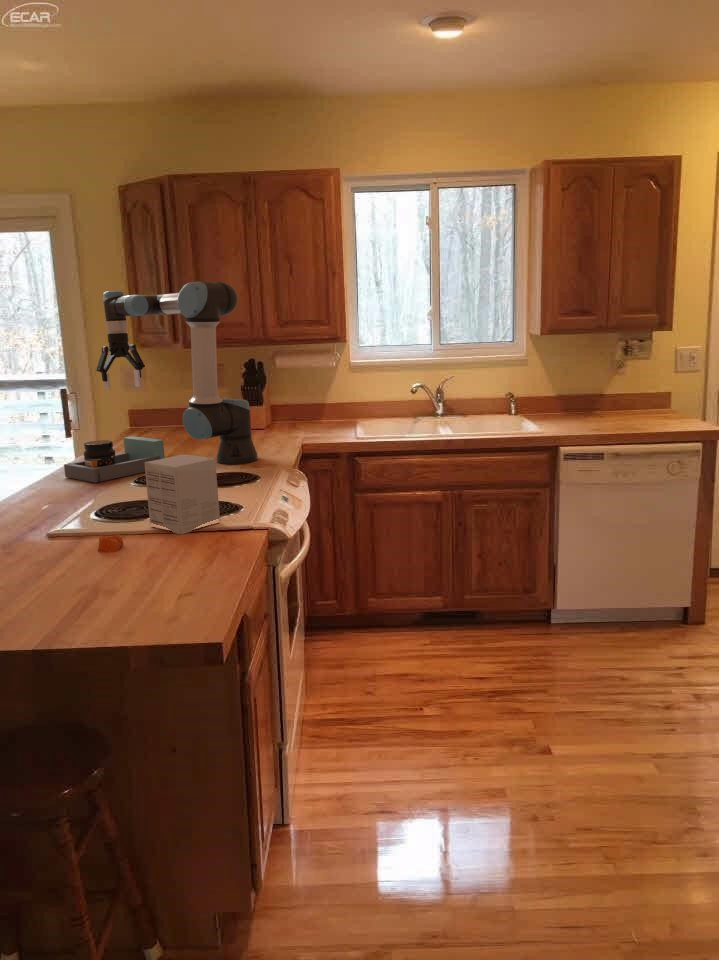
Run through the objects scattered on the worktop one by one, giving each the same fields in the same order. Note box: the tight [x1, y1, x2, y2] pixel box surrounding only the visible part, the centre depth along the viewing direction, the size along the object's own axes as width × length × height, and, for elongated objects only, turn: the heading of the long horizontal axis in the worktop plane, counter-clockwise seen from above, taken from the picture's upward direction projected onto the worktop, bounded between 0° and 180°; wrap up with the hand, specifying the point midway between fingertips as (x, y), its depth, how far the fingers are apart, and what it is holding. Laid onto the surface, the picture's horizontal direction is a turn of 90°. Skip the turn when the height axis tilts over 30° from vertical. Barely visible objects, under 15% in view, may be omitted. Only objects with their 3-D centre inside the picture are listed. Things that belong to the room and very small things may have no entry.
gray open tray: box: [63, 435, 166, 484], centre depth 276 cm, size 18×29×10 cm, turn 142°
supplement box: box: [144, 453, 221, 535], centre depth 203 cm, size 13×13×18 cm
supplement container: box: [82, 439, 116, 468], centre depth 271 cm, size 10×10×12 cm
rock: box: [97, 534, 124, 553], centre depth 187 cm, size 12×12×4 cm
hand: (123, 388), depth 303 cm, fingers open, 13 cm apart
